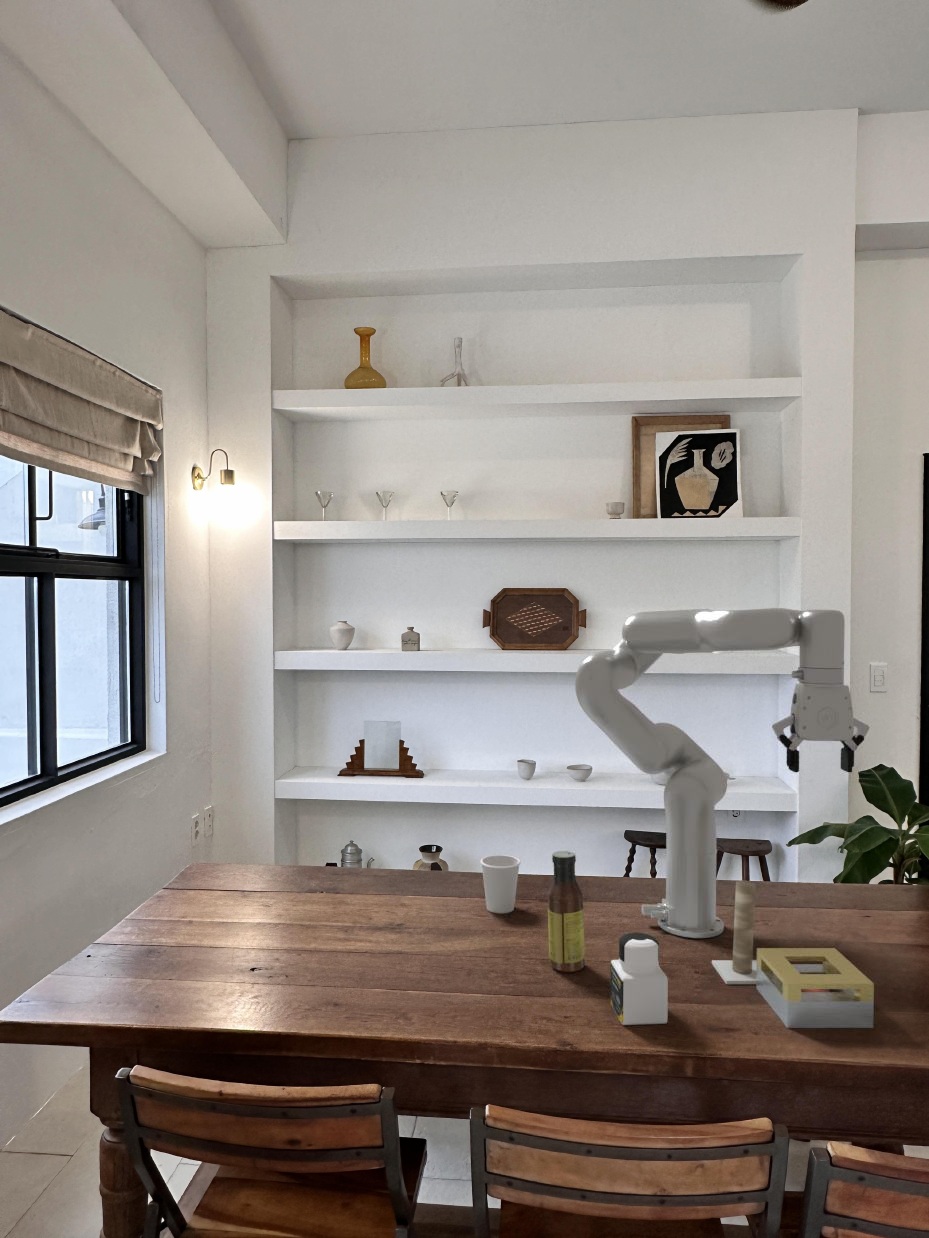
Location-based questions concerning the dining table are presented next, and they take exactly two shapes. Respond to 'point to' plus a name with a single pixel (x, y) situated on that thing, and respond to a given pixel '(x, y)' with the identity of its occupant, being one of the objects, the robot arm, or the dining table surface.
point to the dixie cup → (500, 882)
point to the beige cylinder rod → (743, 927)
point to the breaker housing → (798, 1009)
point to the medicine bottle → (639, 982)
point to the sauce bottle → (565, 916)
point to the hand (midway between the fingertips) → (820, 770)
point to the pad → (731, 976)
